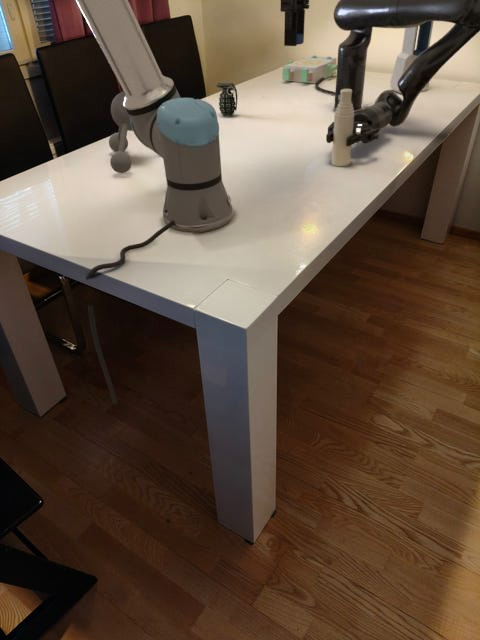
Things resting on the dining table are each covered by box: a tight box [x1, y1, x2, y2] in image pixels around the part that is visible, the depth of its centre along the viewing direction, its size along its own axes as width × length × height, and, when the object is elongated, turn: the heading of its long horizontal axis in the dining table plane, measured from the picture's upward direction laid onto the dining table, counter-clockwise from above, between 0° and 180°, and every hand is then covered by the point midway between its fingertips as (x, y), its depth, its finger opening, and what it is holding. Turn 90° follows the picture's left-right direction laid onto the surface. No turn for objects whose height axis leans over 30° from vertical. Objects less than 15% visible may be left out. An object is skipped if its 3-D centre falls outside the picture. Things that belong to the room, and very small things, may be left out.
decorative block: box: [282, 55, 338, 84], centre depth 207 cm, size 26×6×20 cm
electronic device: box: [389, 21, 435, 95], centre depth 175 cm, size 12×8×30 cm, turn 105°
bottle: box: [330, 89, 355, 167], centre depth 124 cm, size 5×5×18 cm
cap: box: [297, 33, 304, 46], centre depth 111 cm, size 4×4×2 cm
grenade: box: [215, 82, 238, 117], centre depth 166 cm, size 7×6×10 cm
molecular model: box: [108, 89, 133, 174], centre depth 130 cm, size 24×22×30 cm
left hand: (294, 43), depth 112 cm, fingers closed on cap, 4 cm apart
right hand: (337, 140), depth 124 cm, fingers closed on bottle, 5 cm apart
